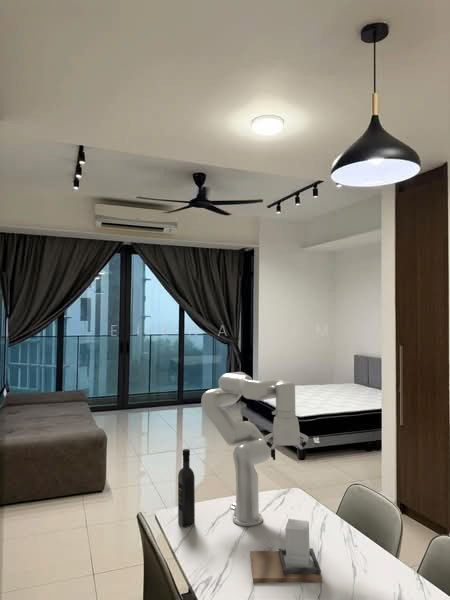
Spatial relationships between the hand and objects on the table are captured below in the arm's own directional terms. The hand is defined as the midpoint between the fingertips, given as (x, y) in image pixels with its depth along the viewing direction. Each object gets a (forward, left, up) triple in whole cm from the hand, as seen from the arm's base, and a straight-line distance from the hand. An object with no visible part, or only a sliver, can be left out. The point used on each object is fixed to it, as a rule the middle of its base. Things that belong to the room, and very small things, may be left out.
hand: (286, 459), depth 163 cm
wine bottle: (-38, -18, -31) cm, 52 cm away
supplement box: (+13, -12, -29) cm, 34 cm away
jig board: (+10, -16, -30) cm, 36 cm away
